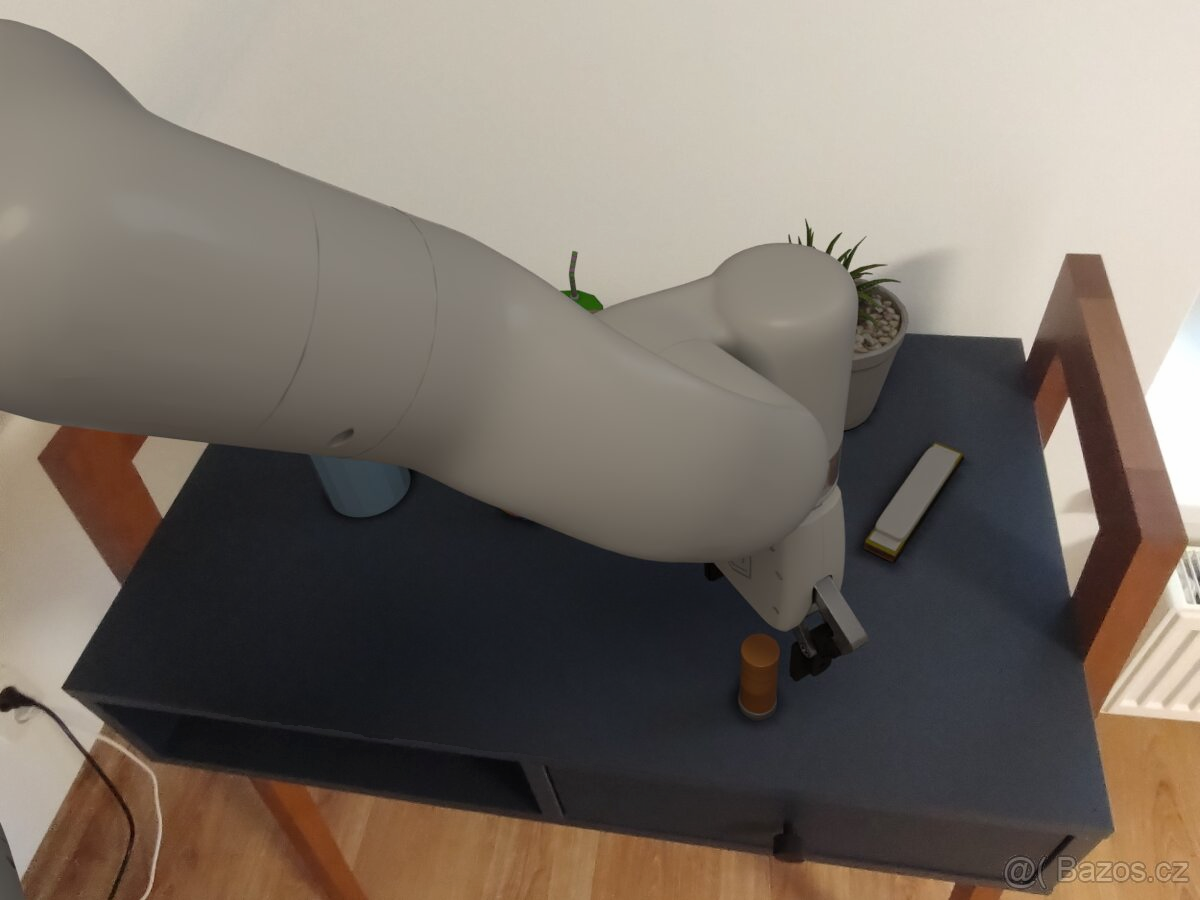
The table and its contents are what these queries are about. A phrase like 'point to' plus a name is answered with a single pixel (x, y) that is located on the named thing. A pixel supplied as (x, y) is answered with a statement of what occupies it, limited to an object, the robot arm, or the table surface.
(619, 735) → the table surface
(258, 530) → the table surface
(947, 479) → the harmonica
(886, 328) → the potted plant
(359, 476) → the blue cup
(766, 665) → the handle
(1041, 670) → the table surface
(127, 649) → the table surface
